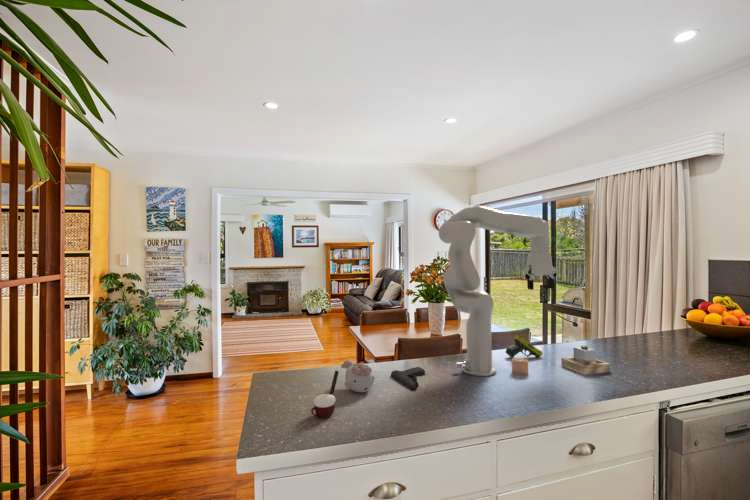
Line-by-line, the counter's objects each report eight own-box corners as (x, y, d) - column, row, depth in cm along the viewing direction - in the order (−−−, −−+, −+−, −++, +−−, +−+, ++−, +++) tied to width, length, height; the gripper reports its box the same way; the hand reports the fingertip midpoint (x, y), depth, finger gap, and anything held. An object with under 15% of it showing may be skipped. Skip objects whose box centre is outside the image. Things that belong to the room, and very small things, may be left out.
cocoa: (312, 423, 111) (310, 382, 110) (308, 413, 117) (306, 374, 116) (344, 416, 114) (342, 376, 113) (339, 407, 120) (337, 369, 119)
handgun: (418, 366, 155) (388, 371, 150) (444, 379, 139) (412, 386, 133) (418, 371, 155) (388, 377, 150) (444, 386, 139) (412, 392, 133)
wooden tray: (583, 374, 147) (583, 366, 147) (561, 365, 158) (561, 357, 158) (610, 371, 149) (610, 363, 149) (586, 363, 161) (586, 355, 161)
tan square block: (517, 376, 147) (517, 362, 147) (508, 371, 153) (508, 358, 153) (531, 374, 148) (531, 361, 148) (522, 370, 154) (522, 357, 154)
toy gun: (530, 371, 170) (544, 353, 170) (504, 352, 170) (518, 334, 170) (528, 369, 172) (542, 351, 172) (502, 351, 173) (516, 333, 172)
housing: (573, 362, 156) (573, 345, 156) (584, 361, 157) (583, 344, 157) (585, 366, 150) (584, 348, 150) (595, 365, 151) (595, 347, 151)
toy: (352, 398, 127) (351, 368, 127) (335, 384, 141) (334, 357, 141) (379, 393, 132) (379, 363, 132) (360, 380, 146) (360, 353, 146)
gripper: (551, 249, 174) (551, 287, 174) (516, 249, 170) (517, 288, 170) (562, 249, 167) (563, 288, 167) (527, 249, 163) (528, 290, 163)
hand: (540, 288), depth 169 cm, fingers open, 9 cm apart
